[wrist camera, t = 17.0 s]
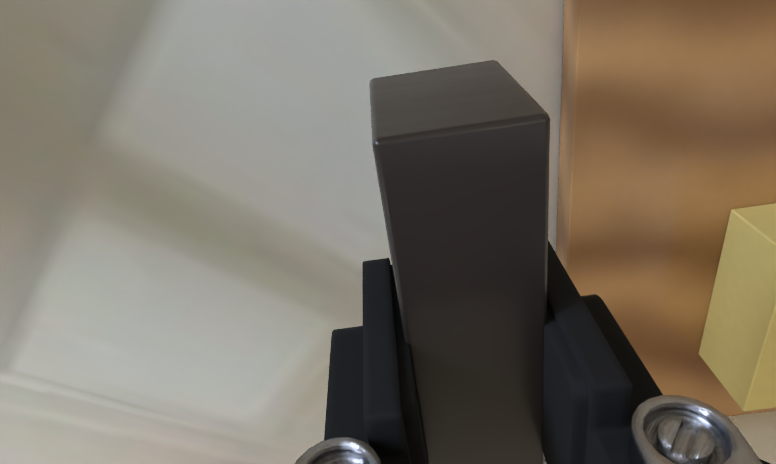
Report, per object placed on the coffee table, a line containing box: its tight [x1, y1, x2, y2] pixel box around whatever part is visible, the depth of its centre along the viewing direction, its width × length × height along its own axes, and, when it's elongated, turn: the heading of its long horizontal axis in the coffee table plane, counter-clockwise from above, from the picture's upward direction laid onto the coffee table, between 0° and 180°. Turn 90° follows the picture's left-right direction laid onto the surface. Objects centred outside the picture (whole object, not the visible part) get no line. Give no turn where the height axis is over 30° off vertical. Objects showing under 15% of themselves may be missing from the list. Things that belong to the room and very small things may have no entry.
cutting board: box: [556, 0, 776, 416], centre depth 23 cm, size 22×18×2 cm
